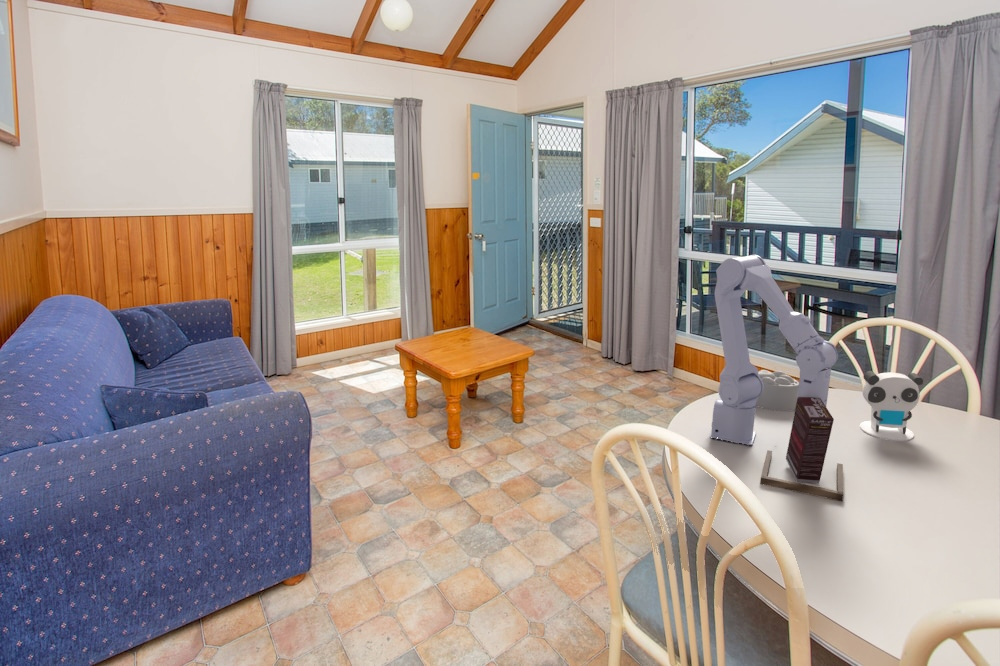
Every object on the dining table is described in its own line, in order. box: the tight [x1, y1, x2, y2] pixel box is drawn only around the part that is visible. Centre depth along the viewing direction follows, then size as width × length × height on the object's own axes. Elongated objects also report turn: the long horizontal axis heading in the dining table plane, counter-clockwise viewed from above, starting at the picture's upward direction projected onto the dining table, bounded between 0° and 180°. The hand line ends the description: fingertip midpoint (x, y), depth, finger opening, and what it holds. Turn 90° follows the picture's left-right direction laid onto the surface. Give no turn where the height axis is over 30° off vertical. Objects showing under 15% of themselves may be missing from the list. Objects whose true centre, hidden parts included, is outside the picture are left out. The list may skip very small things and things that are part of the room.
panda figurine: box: [859, 370, 924, 442], centre depth 146 cm, size 12×11×15 cm
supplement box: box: [785, 397, 835, 484], centre depth 125 cm, size 9×5×16 cm, turn 171°
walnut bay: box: [759, 449, 844, 502], centre depth 126 cm, size 15×14×2 cm
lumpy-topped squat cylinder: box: [756, 369, 799, 412], centre depth 165 cm, size 10×13×9 cm
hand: (805, 455), depth 132 cm, fingers closed, pressing on supplement box
